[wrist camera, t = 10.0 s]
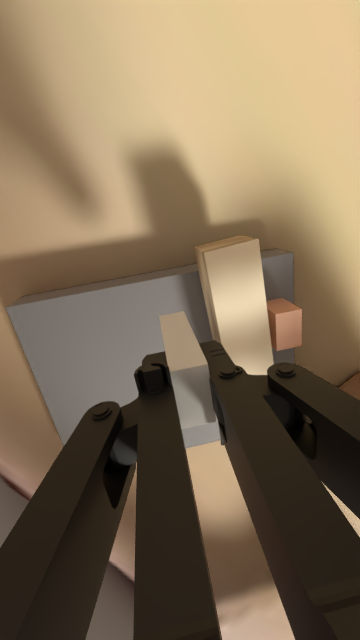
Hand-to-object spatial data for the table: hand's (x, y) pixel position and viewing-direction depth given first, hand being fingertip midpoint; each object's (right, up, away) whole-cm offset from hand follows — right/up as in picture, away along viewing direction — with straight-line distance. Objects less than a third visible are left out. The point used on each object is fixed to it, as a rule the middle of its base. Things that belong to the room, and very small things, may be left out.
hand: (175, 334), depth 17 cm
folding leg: (+5, -1, +6) cm, 8 cm away
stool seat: (-1, -3, +10) cm, 10 cm away
